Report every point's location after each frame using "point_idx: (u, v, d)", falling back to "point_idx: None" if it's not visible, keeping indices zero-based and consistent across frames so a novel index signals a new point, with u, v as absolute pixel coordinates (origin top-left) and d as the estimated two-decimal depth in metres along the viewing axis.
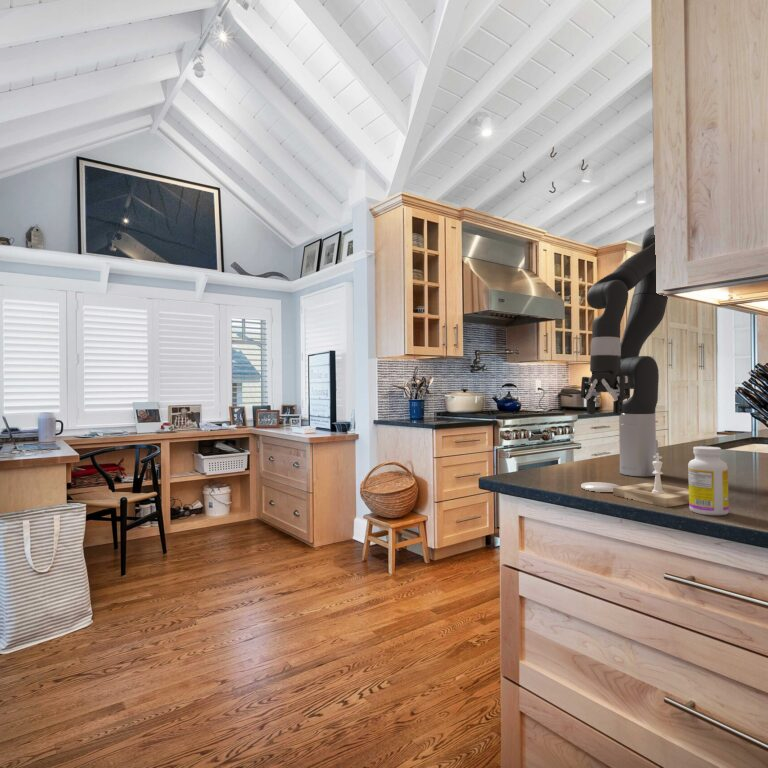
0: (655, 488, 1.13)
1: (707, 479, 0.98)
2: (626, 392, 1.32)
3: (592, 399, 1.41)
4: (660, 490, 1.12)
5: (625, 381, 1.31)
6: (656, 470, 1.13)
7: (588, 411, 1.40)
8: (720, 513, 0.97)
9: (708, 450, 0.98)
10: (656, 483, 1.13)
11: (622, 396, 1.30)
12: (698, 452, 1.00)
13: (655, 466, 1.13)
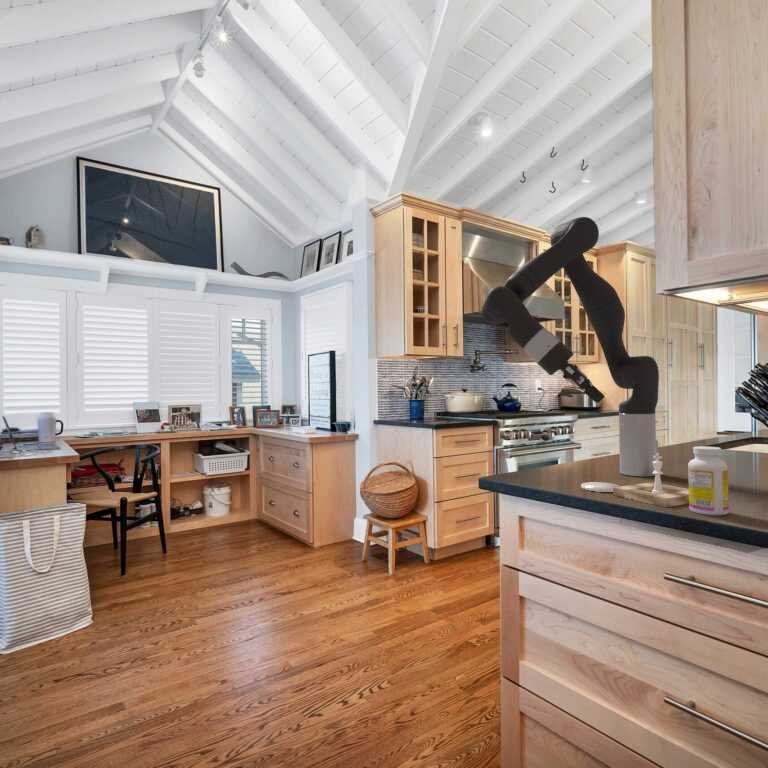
0: (655, 488, 1.13)
1: (707, 479, 0.98)
2: (583, 378, 1.13)
3: None
4: (660, 490, 1.12)
5: (570, 373, 1.13)
6: (656, 470, 1.13)
7: (593, 400, 1.22)
8: (720, 513, 0.97)
9: (708, 450, 0.98)
10: (656, 483, 1.13)
11: (581, 388, 1.12)
12: (698, 452, 1.00)
13: (655, 466, 1.13)
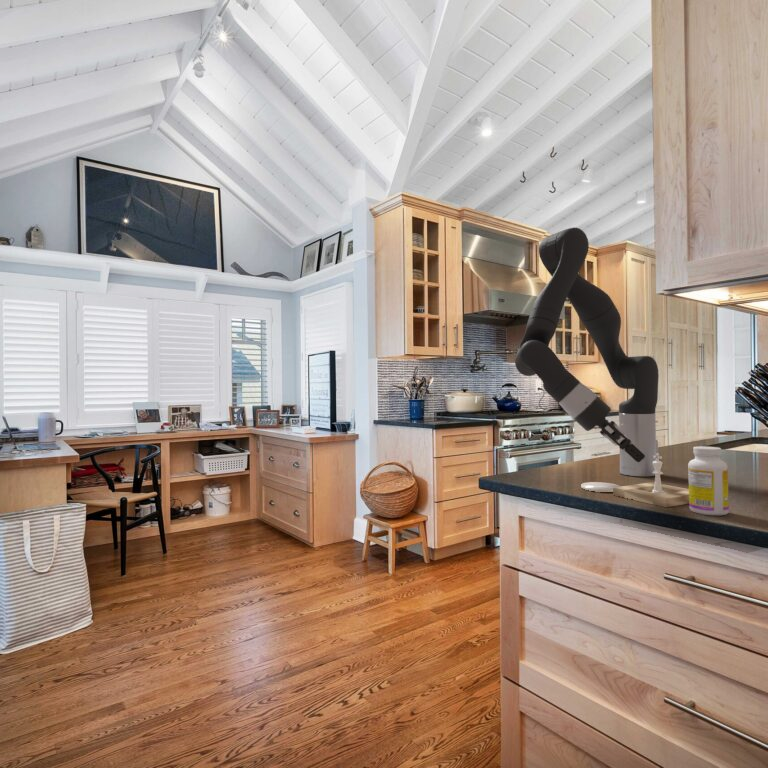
0: (655, 488, 1.13)
1: (707, 479, 0.98)
2: (623, 438, 1.10)
3: (623, 441, 1.19)
4: (660, 490, 1.12)
5: (610, 432, 1.10)
6: (656, 470, 1.13)
7: None
8: (720, 513, 0.97)
9: (708, 450, 0.98)
10: (656, 483, 1.13)
11: (621, 448, 1.10)
12: (698, 452, 1.00)
13: (655, 466, 1.13)
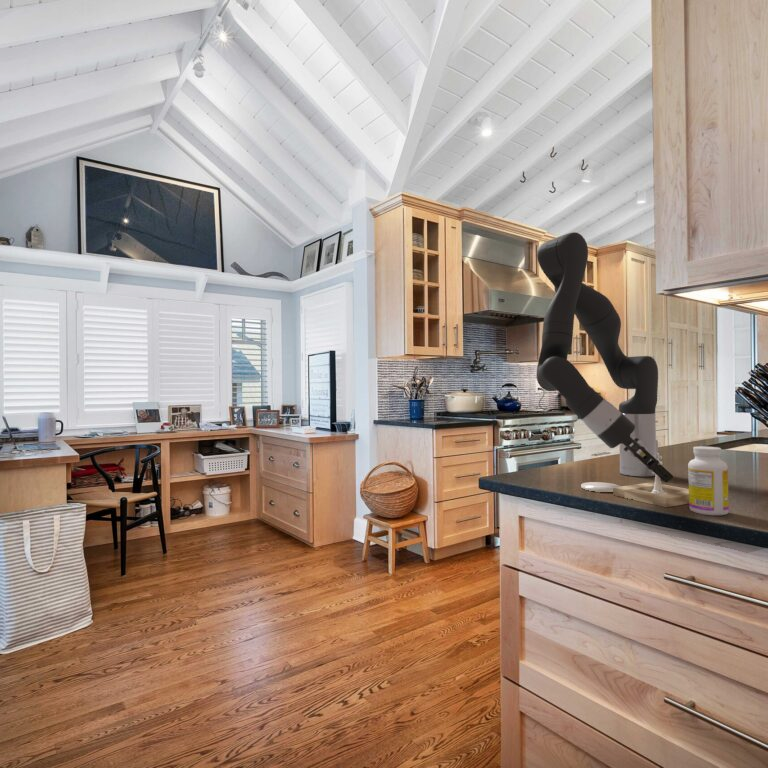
0: (655, 488, 1.13)
1: (707, 479, 0.98)
2: (652, 459, 1.10)
3: None
4: (660, 490, 1.12)
5: (642, 457, 1.09)
6: None
7: None
8: (720, 513, 0.97)
9: (708, 450, 0.98)
10: (656, 483, 1.13)
11: (649, 468, 1.10)
12: (698, 452, 1.00)
13: None
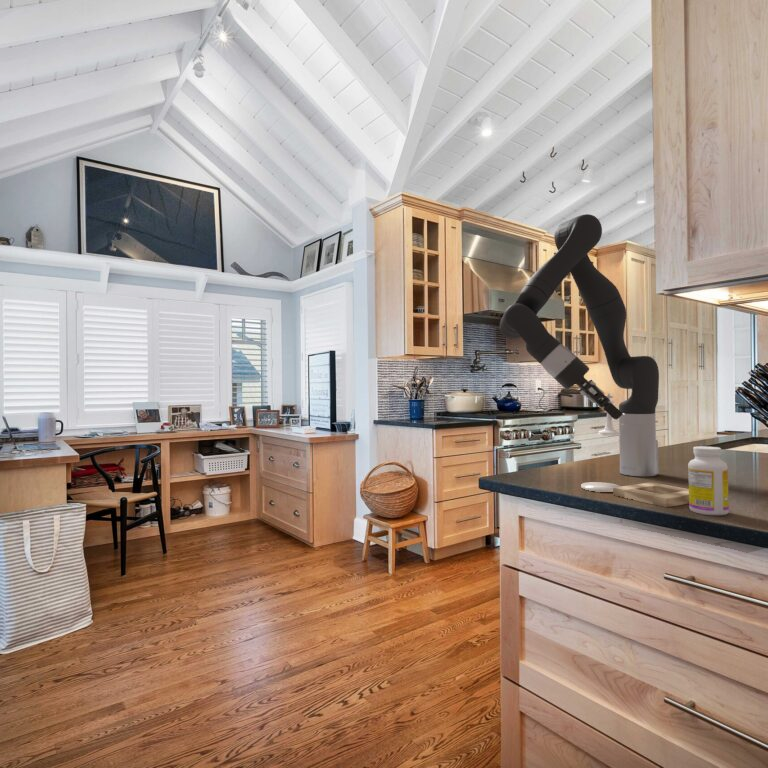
0: (606, 425, 1.22)
1: (707, 479, 0.98)
2: (603, 397, 1.19)
3: None
4: (611, 427, 1.21)
5: (593, 394, 1.18)
6: None
7: (612, 417, 1.23)
8: (720, 513, 0.97)
9: (708, 450, 0.98)
10: (607, 421, 1.22)
11: (600, 406, 1.19)
12: (698, 452, 1.00)
13: None
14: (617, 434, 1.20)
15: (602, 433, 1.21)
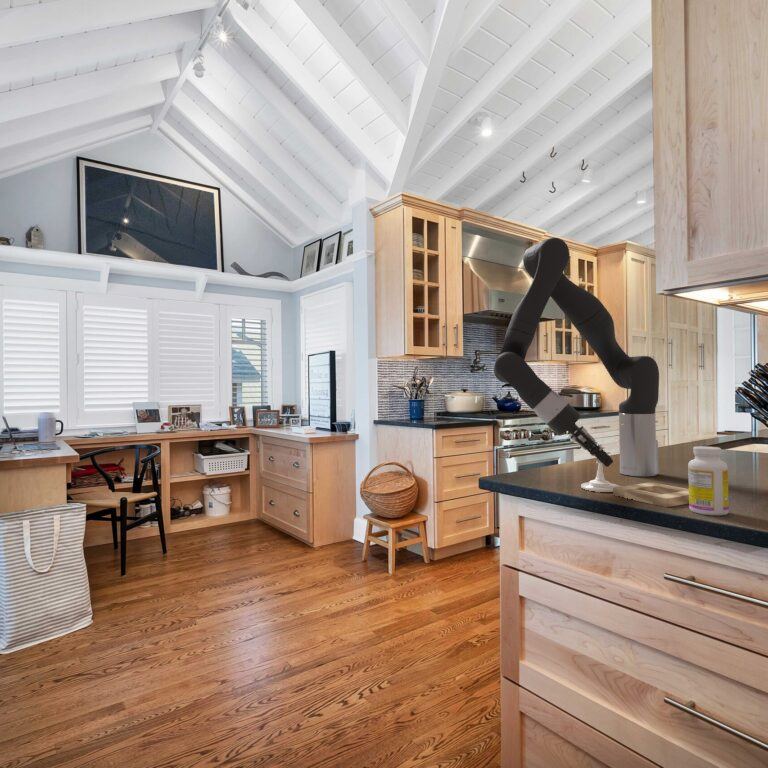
0: (597, 476, 1.23)
1: (707, 479, 0.98)
2: (593, 445, 1.20)
3: None
4: (602, 478, 1.23)
5: (583, 441, 1.19)
6: (599, 460, 1.23)
7: None
8: (720, 513, 0.97)
9: (708, 450, 0.98)
10: (598, 471, 1.23)
11: (591, 454, 1.20)
12: (698, 452, 1.00)
13: None
14: (607, 486, 1.22)
15: (593, 484, 1.23)
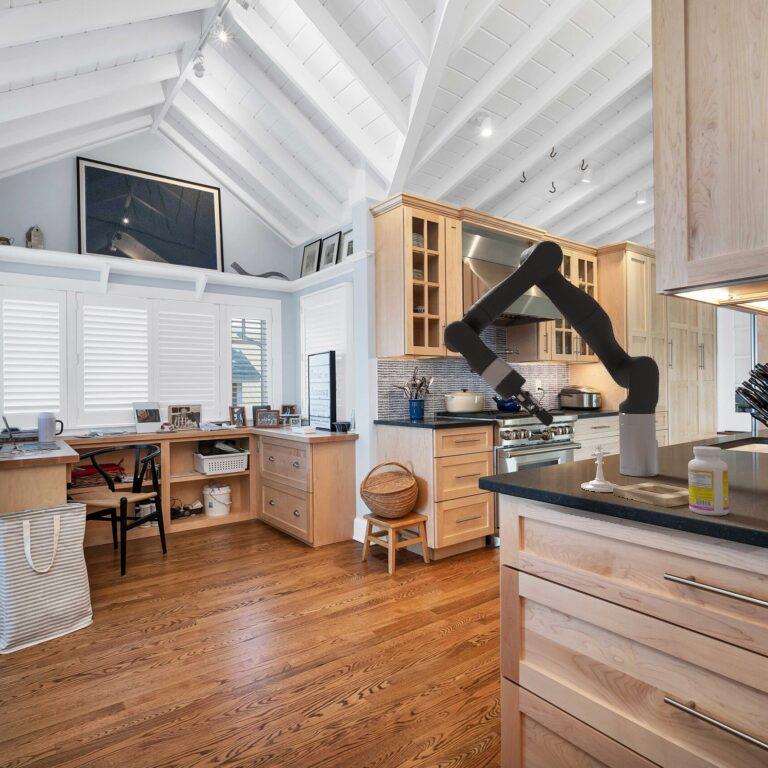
0: (597, 476, 1.24)
1: (707, 479, 0.98)
2: (533, 405, 1.23)
3: None
4: (601, 478, 1.23)
5: (521, 400, 1.23)
6: (598, 460, 1.24)
7: None
8: (720, 513, 0.97)
9: (708, 450, 0.98)
10: (598, 472, 1.23)
11: (531, 414, 1.23)
12: (698, 452, 1.00)
13: (597, 456, 1.23)
14: (607, 486, 1.22)
15: (593, 484, 1.23)
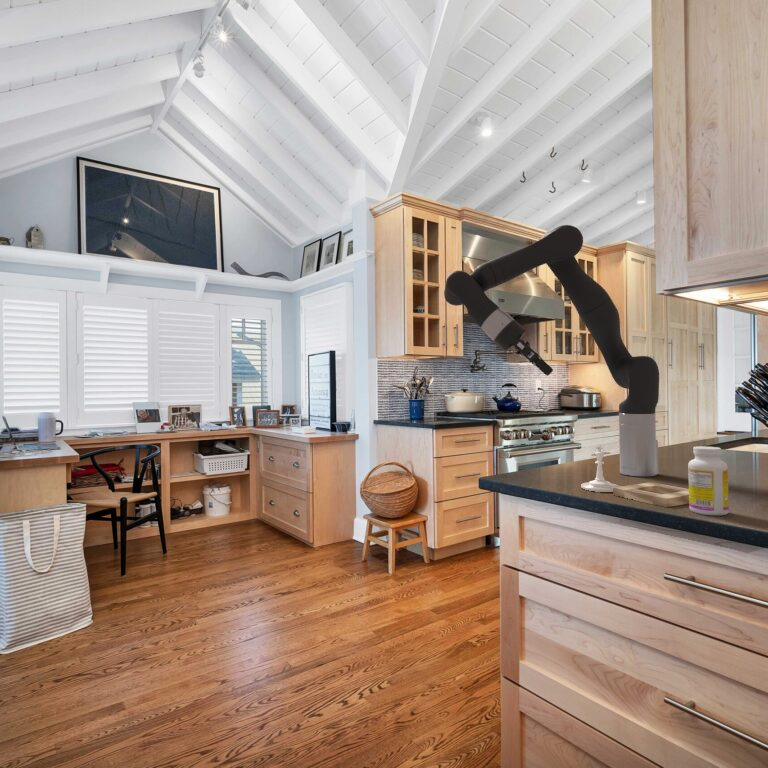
0: (597, 476, 1.24)
1: (707, 479, 0.98)
2: (533, 352, 1.23)
3: None
4: (601, 478, 1.23)
5: (521, 348, 1.23)
6: (598, 460, 1.24)
7: None
8: (720, 513, 0.97)
9: (708, 450, 0.98)
10: (598, 472, 1.23)
11: (530, 361, 1.23)
12: (698, 452, 1.00)
13: (597, 456, 1.23)
14: (607, 486, 1.22)
15: (593, 484, 1.23)
